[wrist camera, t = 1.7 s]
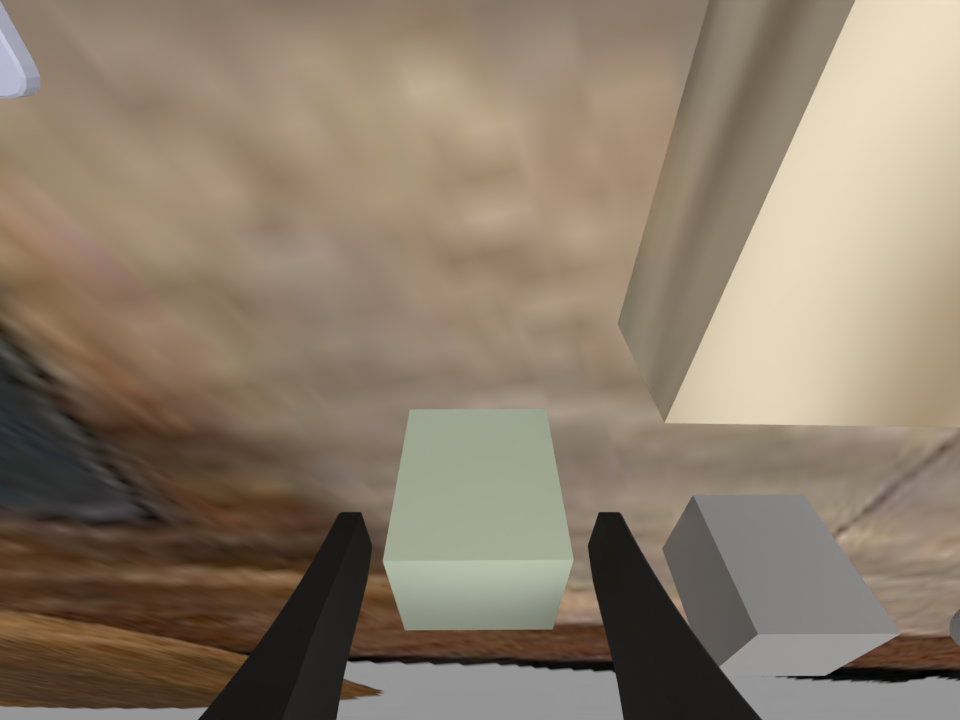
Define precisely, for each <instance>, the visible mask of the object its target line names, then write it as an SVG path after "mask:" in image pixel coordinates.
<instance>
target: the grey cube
mask: <svg viewBox="0 0 960 720" xmlns="http://www.w3.org/2000/svg"><path fill="white" fill-rule="evenodd" d="M662 550H663V552H664V555H665V558H666V561H667V564H668V566H669V569H670V572H671V575H672V578H673V581H674V583H675V586H676V589H677V592H678V595H679V597H680V600H681V603H682V606H683V609H684V611H685V614H686V617H687V620H688V623H689V625H690V628H691V630H692V631H693V632H694V634H695V635H696V637H697V638H698V639H699V641H700V642H701V644H702V645H703V646H704V648H705V649H706V650H707V652H708V653H709V654H710V656H711V657H712V658H713V660H714V661H715V662H716V664H717V665H718V666H719V667H720V669H721V670H722V671H723V673H724V674H725V675H726V676H825V675H827V674H829V673H831V672H833V671H834V670H836V669H838V668H840V667H842V666H844V665H845V664H847V663H849V662H851V661H853V660H854V659H856V658H858V657H860V656H862V655H863V654H865V653H867V652H869V651H871V650H873V649H874V648H876V647H878V646H880V645H882V644H883V643H885V642H887V641H889V640H891V639H893V638H894V637H896V636H898V635H900V634H901V633H900V631H899V630H898V629H897V627H896V626H895V624H894V623H893V621H892V620H891V619H890V617H889V616H888V614H887V613H886V611H885V610H884V609H883V607H882V606H881V604H880V603H879V601H878V600H877V599H876V597H875V596H874V594H873V593H872V592H871V590H870V589H869V587H868V586H867V584H866V583H865V582H864V580H863V579H862V577H861V576H860V574H859V573H858V572H857V570H856V569H855V567H854V566H853V564H852V563H851V562H850V560H849V559H848V557H847V556H846V555H845V553H844V552H843V550H842V549H841V547H840V546H839V545H838V543H837V542H836V540H835V539H834V537H833V536H832V535H831V533H830V532H829V530H828V529H827V527H826V526H825V525H824V523H823V522H822V520H821V519H820V518H819V516H818V515H817V513H816V512H815V510H814V509H813V508H812V506H811V505H810V503H809V502H808V500H807V499H806V498H805V496H804V495H803V494H800V495H693V496H692V498H691V499H690V501H689V503H688V505H687V506H686V508H685V510H684V512H683V513H682V515H681V517H680V519H679V520H678V522H677V524H676V525H675V527H674V529H673V531H672V532H671V534H670V536H669V538H668V539H667V541H666V543H665V545H664V546H663V548H662Z"/></svg>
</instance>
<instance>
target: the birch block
mask: <svg viewBox="0 0 960 720" xmlns="http://www.w3.org/2000/svg"><path fill="white" fill-rule="evenodd" d="M618 326H619V328H620V331H621V333H622V335H623V337H624V339H625V341H626V343H627V345H628V347H629V349H630V352H631V354H632V356H633V358H634V360H635V362H636V364H637V366H638V368H639V371H640V373H641V375H642V377H643V379H644V381H645V383H646V385H647V387H648V389H649V392H650V394H651V396H652V398H653V400H654V402H655V404H656V406H657V408H658V411H659V413H660V415H661V417H662V419H663V421H664V423H692V424H762V425H831V426H901V427H960V0H709V2H708V6H707V9H706V13H705V16H704V20H703V24H702V27H701V31H700V34H699V38H698V41H697V45H696V48H695V52H694V55H693V59H692V62H691V66H690V69H689V73H688V77H687V80H686V84H685V87H684V91H683V94H682V98H681V101H680V105H679V108H678V112H677V115H676V119H675V123H674V126H673V130H672V133H671V137H670V140H669V144H668V147H667V151H666V154H665V158H664V161H663V165H662V169H661V172H660V176H659V179H658V183H657V186H656V190H655V193H654V197H653V200H652V204H651V207H650V211H649V214H648V218H647V222H646V225H645V229H644V232H643V236H642V239H641V243H640V246H639V250H638V253H637V257H636V260H635V264H634V268H633V271H632V275H631V278H630V282H629V285H628V289H627V292H626V296H625V299H624V303H623V306H622V310H621V314H620V317H619V321H618Z"/></svg>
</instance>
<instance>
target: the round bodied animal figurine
mask: <svg viewBox="0 0 960 720" xmlns="http://www.w3.org/2000/svg"><path fill="white" fill-rule="evenodd" d="M950 635H951V637H952V639H953V640H954V641H955V642H956V643H957V644H958V645H959V646H960V609H959V610H958V611H957V612H956V613H955V614H954V616H953V617H952V619H951V622H950Z"/></svg>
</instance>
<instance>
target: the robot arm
mask: <svg viewBox="0 0 960 720" xmlns="http://www.w3.org/2000/svg"><path fill="white" fill-rule="evenodd" d="M39 88H40V75H39V72H38V70H37V67H36V65H35V63H34V61H33V59H32V57H31V55H30V54H29V52H28V50H27V48H26V46H25V45H24V43H23V41H22V39H21V37H20V36H19V34H18V32H17V30H16V28H15V27H14V25H13V23H12V21H11V19H10V18H9V16H8V14H7V12H6V10H5V9H4V7H3V5H2V3H1V1H0V98H19V97H26V96H30V95H34V94H36V93H37V91H38V90H39ZM371 552H372V543H371V540H370V537H369V534H368V531H367V528H366V525H365V522H364V519H363V516H362V513H361V512H341V513H339V514H338V516H337V518H336V520H335V522H334V524H333V525H332V527H331V529H330V531H329V533H328V535H327V537H326V538H325V540H324V542H323V544H322V546H321V547H320V549H319V551H318V553H317V554H316V556H315V558H314V560H313V561H312V563H311V565H310V566H309V568H308V570H307V571H306V573H305V574H304V576H303V578H302V579H301V581H300V583H299V584H298V586H297V587H296V589H295V591H294V592H293V594H292V595H291V597H290V598H289V600H288V601H287V603H286V604H285V606H284V607H283V609H282V610H281V612H280V613H279V615H278V616H277V618H276V619H275V621H274V622H273V624H272V625H271V627H270V628H269V629H268V631H267V632H266V634H265V635H264V636H263V638H262V639H261V641H260V642H259V643H258V645H257V646H256V647H255V649H254V650H253V651H252V653H251V654H250V655H249V657H248V658H247V659H246V661H245V662H244V663H243V665H242V666H241V667H240V669H239V670H238V671H237V672H236V674H235V675H234V676H233V677H232V679H231V680H230V681H229V682H228V684H227V685H226V686H225V687H224V689H223V690H222V691H221V692H220V694H219V695H218V696H217V697H216V699H215V700H214V701H213V702H212V703H211V705H210V706H209V707H208V708H207V709H206V711H205V712H204V713H203V714H202V715H201V717H200V718H199V719H198V720H336V719H337V713H338V707H339V701H340V695H341V690H342V684H343V679H344V674H345V669H346V665H347V661H348V657H349V653H350V649H351V645H352V641H353V637H354V633H355V629H356V625H357V621H358V617H359V613H360V609H361V605H362V601H363V597H364V593H365V589H366V585H367V580H368V573H369V567H370V559H371ZM588 552H589V559H590V567H591V573H592V580H593V585H594V589H595V593H596V597H597V601H598V605H599V609H600V613H601V617H602V621H603V625H604V629H605V633H606V637H607V641H608V645H609V649H610V653H611V657H612V661H613V665H614V669H615V674H616V679H617V684H618V689H619V695H620V701H621V707H622V713H623V719H624V720H762V719H761V718H760V716H759V715H758V714H757V713H756V712H755V711H754V709H753V708H752V707H751V706H750V705H749V704H748V702H747V701H746V700H745V699H744V698H743V696H742V695H741V694H740V693H739V691H738V690H737V689H736V688H735V686H734V685H733V684H732V683H731V681H730V680H729V679H728V678H727V676H726V675H725V674H724V673H723V671H722V670H721V669H720V667H719V666H718V665H717V664H716V662H715V661H714V660H713V658H712V657H711V656H710V654H709V653H708V652H707V650H706V649H705V648H704V646H703V645H702V644H701V642H700V641H699V639H698V638H697V637H696V635H695V634H694V632H693V631H692V630H691V628H690V627H689V625H688V624H687V622H686V621H685V619H684V618H683V616H682V615H681V614H680V612H679V611H678V609H677V608H676V606H675V605H674V603H673V602H672V600H671V599H670V597H669V595H668V594H667V592H666V591H665V589H664V587H663V586H662V584H661V583H660V581H659V580H658V578H657V576H656V575H655V573H654V572H653V570H652V568H651V567H650V565H649V563H648V561H647V560H646V558H645V556H644V555H643V553H642V551H641V549H640V548H639V546H638V544H637V542H636V540H635V539H634V537H633V535H632V533H631V531H630V529H629V527H628V526H627V524H626V522H625V520H624V518H623V516H622V514H621V513H620V512H599V513H598V516H597V519H596V522H595V525H594V528H593V531H592V534H591V537H590V540H589V543H588Z"/></svg>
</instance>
